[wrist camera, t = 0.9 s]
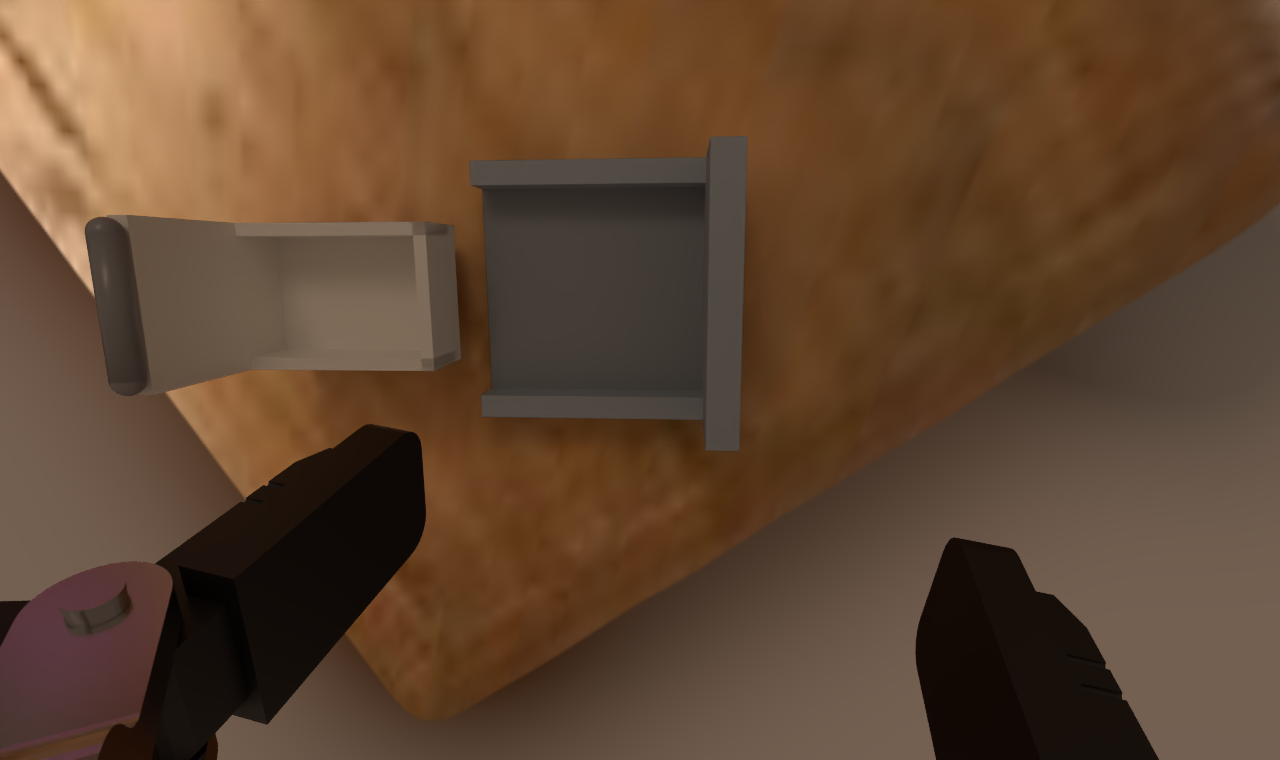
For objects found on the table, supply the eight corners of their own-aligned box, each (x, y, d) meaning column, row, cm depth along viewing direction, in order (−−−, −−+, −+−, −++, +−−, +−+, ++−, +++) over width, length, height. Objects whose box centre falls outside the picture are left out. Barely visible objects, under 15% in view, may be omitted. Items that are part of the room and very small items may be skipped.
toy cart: (283, 228, 36) (72, 213, 24) (463, 226, 35) (344, 210, 23) (296, 353, 37) (103, 401, 25) (470, 354, 36) (360, 404, 24)
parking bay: (483, 167, 35) (426, 141, 27) (733, 163, 34) (747, 136, 27) (494, 406, 38) (444, 445, 30) (728, 409, 37) (739, 450, 29)
